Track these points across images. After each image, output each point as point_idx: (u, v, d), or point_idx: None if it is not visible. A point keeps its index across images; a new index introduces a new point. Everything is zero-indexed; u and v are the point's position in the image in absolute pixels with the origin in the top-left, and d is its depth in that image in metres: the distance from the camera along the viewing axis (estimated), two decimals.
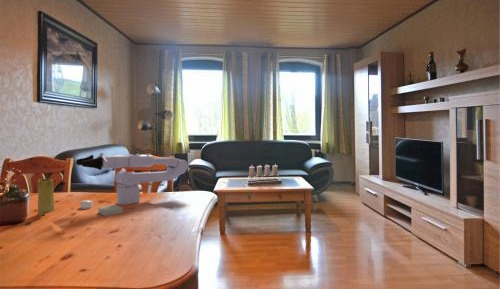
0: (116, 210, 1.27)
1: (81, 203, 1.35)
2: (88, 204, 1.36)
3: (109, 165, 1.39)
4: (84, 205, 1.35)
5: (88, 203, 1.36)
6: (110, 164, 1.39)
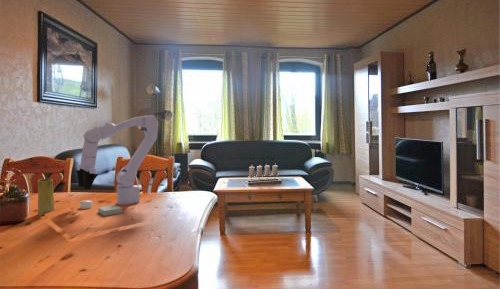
0: (115, 210, 1.27)
1: (81, 203, 1.35)
2: (88, 204, 1.36)
3: (93, 162, 1.36)
4: (84, 205, 1.35)
5: (88, 203, 1.36)
6: (92, 161, 1.36)
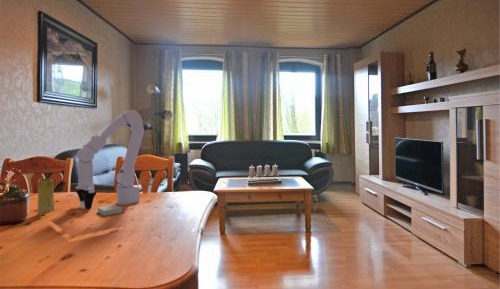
0: (115, 210, 1.27)
1: (81, 203, 1.35)
2: None
3: (91, 181, 1.36)
4: (84, 205, 1.35)
5: None
6: (90, 180, 1.36)
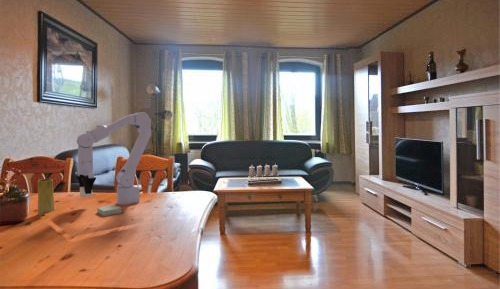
0: (115, 210, 1.27)
1: (81, 188, 1.35)
2: None
3: (91, 166, 1.36)
4: (83, 191, 1.35)
5: None
6: (90, 166, 1.36)
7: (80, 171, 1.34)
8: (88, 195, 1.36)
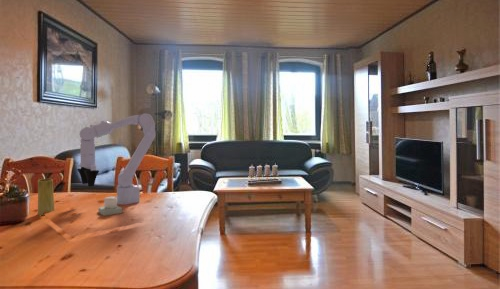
0: (115, 210, 1.27)
1: (106, 200, 1.27)
2: (113, 201, 1.28)
3: (93, 159, 1.39)
4: (108, 202, 1.27)
5: (113, 200, 1.28)
6: (92, 158, 1.39)
7: (82, 164, 1.38)
8: (113, 207, 1.28)
